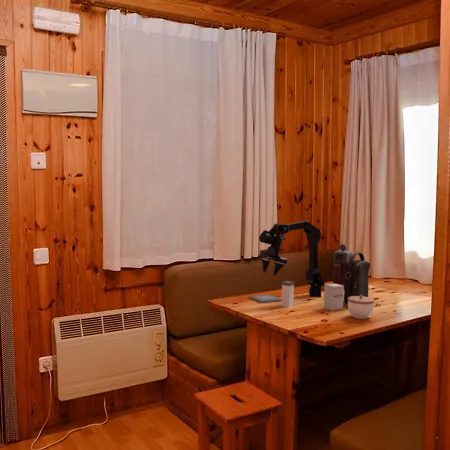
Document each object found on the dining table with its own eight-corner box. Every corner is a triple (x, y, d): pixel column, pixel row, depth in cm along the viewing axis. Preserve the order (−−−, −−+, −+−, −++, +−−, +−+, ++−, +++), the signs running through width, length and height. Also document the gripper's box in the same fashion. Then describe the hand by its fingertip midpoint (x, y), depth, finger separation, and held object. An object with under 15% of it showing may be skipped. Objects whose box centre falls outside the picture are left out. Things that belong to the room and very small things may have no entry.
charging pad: (271, 296, 302) (271, 294, 302) (283, 301, 289) (283, 299, 289) (249, 297, 296) (249, 295, 296) (260, 303, 283) (260, 301, 283)
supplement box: (332, 310, 270) (333, 286, 269) (323, 307, 277) (324, 284, 276) (343, 309, 274) (344, 285, 273) (334, 306, 280) (335, 283, 279)
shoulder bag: (357, 297, 303) (359, 249, 301) (372, 300, 297) (374, 251, 295) (339, 304, 285) (341, 253, 283) (355, 307, 279) (357, 255, 277)
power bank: (285, 304, 282) (286, 280, 280) (293, 305, 279) (294, 281, 278) (281, 306, 278) (282, 282, 277) (289, 307, 275) (289, 283, 274)
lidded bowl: (374, 321, 251) (375, 298, 250) (347, 319, 254) (348, 296, 253) (372, 314, 264) (373, 293, 263) (346, 312, 266) (347, 291, 265)
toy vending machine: (331, 288, 328) (332, 244, 326) (337, 285, 337) (339, 242, 335) (344, 290, 323) (346, 245, 321) (350, 287, 333) (352, 243, 330)
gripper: (254, 241, 290) (247, 268, 289) (275, 245, 275) (268, 274, 274) (269, 245, 296) (263, 272, 295) (290, 249, 281) (284, 277, 280)
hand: (269, 273), depth 286 cm, fingers open, 9 cm apart
